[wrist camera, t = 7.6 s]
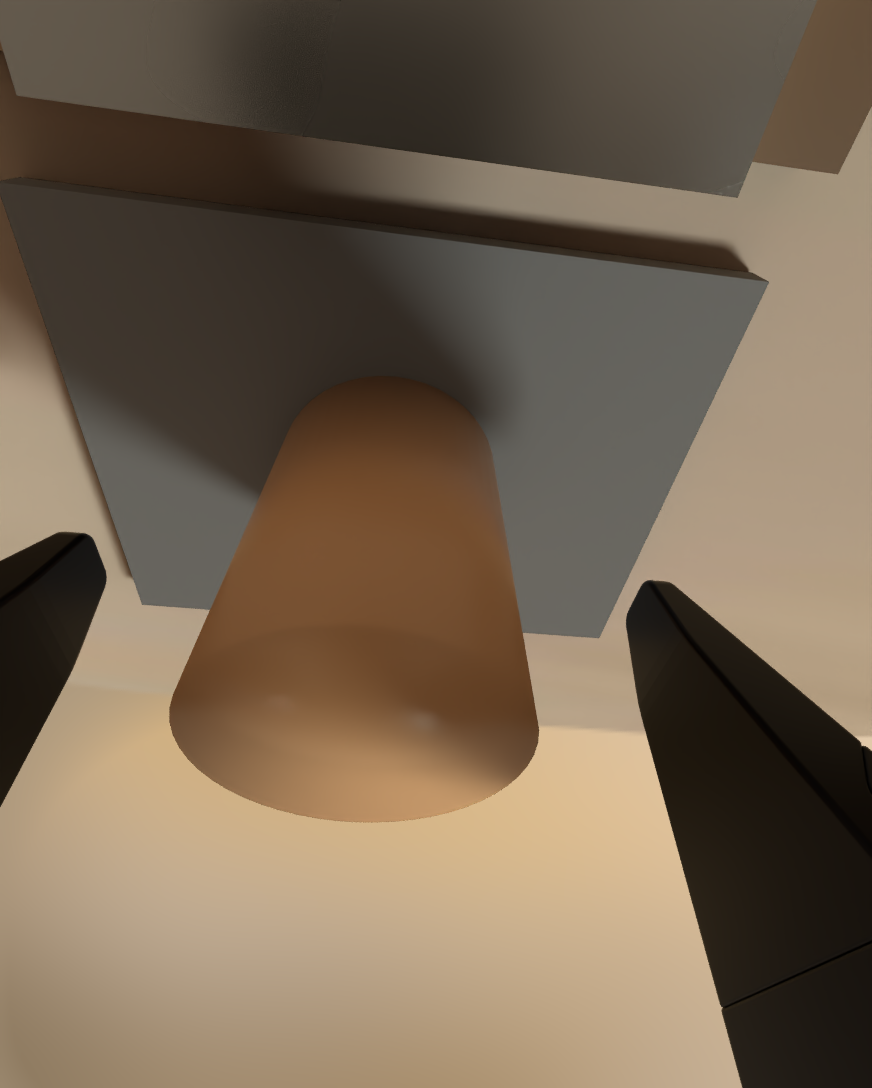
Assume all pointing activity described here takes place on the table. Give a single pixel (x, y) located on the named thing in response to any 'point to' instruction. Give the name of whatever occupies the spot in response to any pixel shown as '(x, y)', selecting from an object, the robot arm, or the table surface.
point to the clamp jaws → (438, 75)
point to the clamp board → (822, 91)
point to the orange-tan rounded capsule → (366, 621)
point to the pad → (371, 372)
